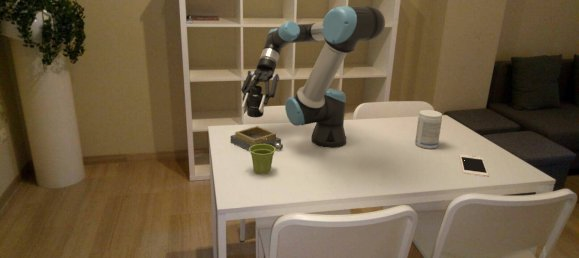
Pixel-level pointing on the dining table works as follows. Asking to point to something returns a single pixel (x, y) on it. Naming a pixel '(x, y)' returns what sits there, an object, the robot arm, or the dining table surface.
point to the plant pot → (262, 157)
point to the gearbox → (255, 138)
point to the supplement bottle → (254, 101)
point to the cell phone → (473, 165)
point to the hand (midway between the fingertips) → (252, 109)
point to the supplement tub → (428, 129)
